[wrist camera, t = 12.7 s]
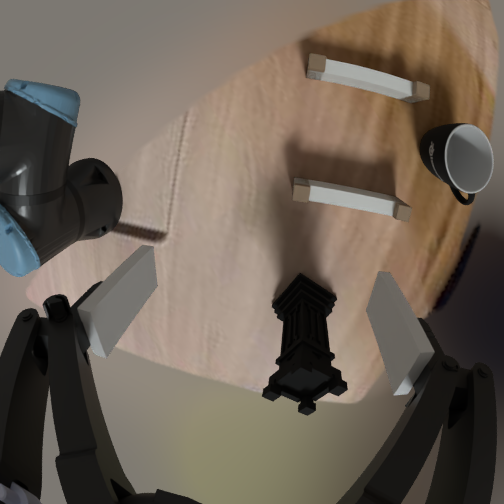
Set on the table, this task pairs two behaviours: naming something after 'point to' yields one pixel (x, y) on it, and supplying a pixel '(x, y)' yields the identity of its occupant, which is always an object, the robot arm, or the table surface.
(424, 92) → the chute
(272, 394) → the chess piece
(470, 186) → the mug
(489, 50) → the table surface
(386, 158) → the table surface
